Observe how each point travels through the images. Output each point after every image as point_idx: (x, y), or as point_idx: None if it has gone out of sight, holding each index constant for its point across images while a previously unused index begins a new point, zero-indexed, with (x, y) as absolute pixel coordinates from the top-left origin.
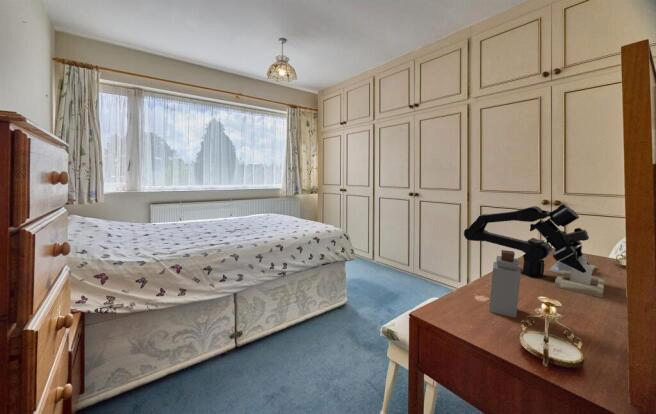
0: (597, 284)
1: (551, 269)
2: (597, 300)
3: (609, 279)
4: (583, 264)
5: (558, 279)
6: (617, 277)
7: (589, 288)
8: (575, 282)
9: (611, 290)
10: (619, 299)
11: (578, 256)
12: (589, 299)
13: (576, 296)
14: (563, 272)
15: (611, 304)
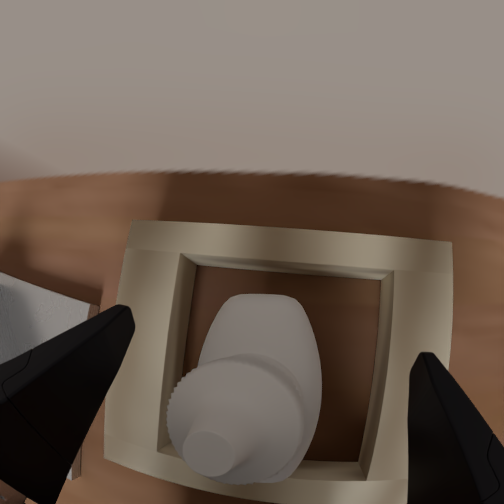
0: (193, 265)
1: (73, 472)
2: (488, 279)
3: (56, 209)
4: (301, 392)
5: (395, 492)
6: (25, 184)
7: (448, 316)
8: (401, 402)
9: (245, 203)
10: (389, 183)
11: (52, 415)
12: (500, 312)
13: (498, 369)
14: (168, 462)
15: (492, 225)
